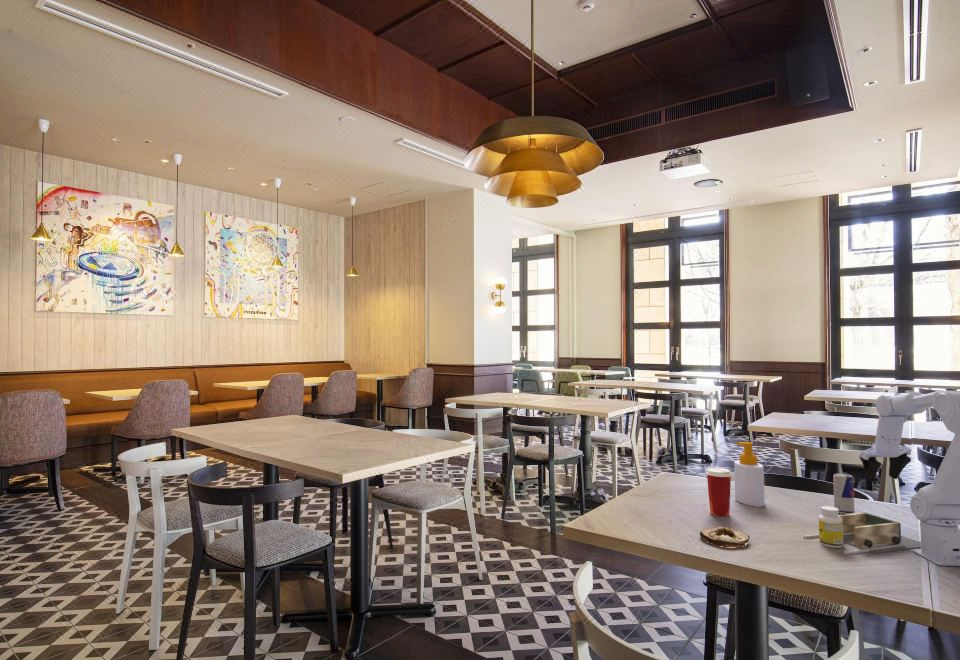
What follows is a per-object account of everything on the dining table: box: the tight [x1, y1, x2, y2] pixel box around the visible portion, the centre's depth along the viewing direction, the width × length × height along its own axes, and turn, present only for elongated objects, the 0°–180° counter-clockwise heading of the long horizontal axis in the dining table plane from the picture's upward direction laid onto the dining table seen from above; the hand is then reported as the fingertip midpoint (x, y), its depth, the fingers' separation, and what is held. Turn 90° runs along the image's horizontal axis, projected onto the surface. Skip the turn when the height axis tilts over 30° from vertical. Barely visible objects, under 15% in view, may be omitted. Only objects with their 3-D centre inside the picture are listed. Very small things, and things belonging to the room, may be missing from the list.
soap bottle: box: [733, 441, 766, 508], centre depth 187 cm, size 13×8×20 cm, turn 178°
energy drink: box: [832, 472, 855, 515], centre depth 174 cm, size 5×5×12 cm
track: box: [803, 533, 921, 556], centre depth 148 cm, size 26×16×1 cm, turn 105°
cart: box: [838, 512, 902, 548], centre depth 148 cm, size 15×12×5 cm
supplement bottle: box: [818, 505, 844, 549], centre depth 146 cm, size 5×5×10 cm
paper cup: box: [705, 467, 732, 517], centre depth 174 cm, size 8×8×14 cm
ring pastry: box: [699, 526, 751, 548], centre depth 149 cm, size 15×15×4 cm
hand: (881, 478), depth 158 cm, fingers open, 7 cm apart
